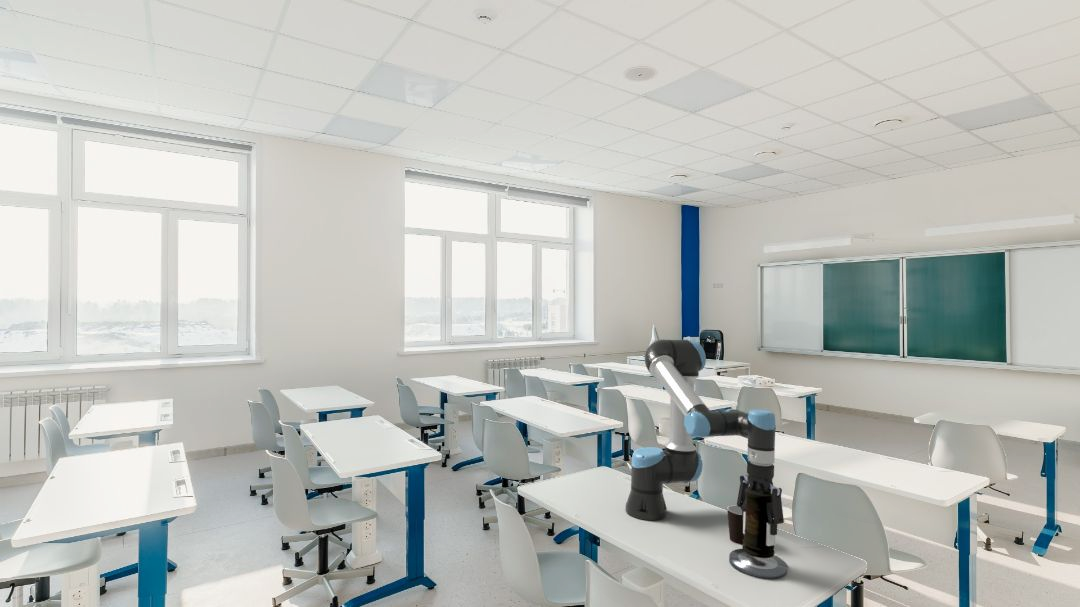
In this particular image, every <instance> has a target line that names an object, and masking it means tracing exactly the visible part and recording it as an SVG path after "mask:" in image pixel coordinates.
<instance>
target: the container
mask: <svg viewBox="0 0 1080 607" xmlns="http://www.w3.org/2000/svg"><path fill="white" fill-rule="evenodd" d="M748 488H749V487H748ZM748 488H746V489H745V494H746V521H745V531H744V532H745V538H744V539H743V542H744V543H743V545H742V549H743V550H744V551H745V552H746V553H747V554H749V555H752V556H755V557H759V558H771V557H773V556H774V555H775V552H776V551H775V545H772V546H767V545H766V534H767V522H769V519H768V516H767V509H766V508H767V505H766V504H767V503H771V502H772V494H770V493H768V494H765V495H762V494H760V493H759V492H757V491H755V490H750V489H748ZM771 492H772V491H771Z"/></svg>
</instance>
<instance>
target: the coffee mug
mask: <svg viewBox="0 0 1080 607" xmlns="http://www.w3.org/2000/svg"><path fill="white" fill-rule="evenodd" d="M726 509H727V521H728V523H727V524H728V533H729V540H730V541H731V542H733V543H735V544H738V545H743V543H744V542H743V539H744V538H745V534H744V533H743V521H742V510H741V508H740V507H738V506H737V504H735V505H734V504H733V505H729V506H727V507H726Z"/></svg>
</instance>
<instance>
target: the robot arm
mask: <svg viewBox="0 0 1080 607" xmlns="http://www.w3.org/2000/svg"><path fill="white" fill-rule="evenodd" d="M706 357H707V356H706V352H705V350H704V347H702V345H701V343H699V342H698V341H696V340H691V339H690V340H689V339H659V340H656V341H654V342H652V343H650V345H649V346H648V347H647V349H646V351H645V354H644V364H645V367H646V369H647V371H648V372H649V374H650V375H651V376H652V377H653V378H656V379H657V380H658V381H659V383H660V384H661V385H662V387H663V388H664V390H665V391H666V393H668V395H669V396H670V397H669V398H670V402H669V403H670V404H669V405H670V406H669V432H668V434H669V437H668V442H666V443H665V444H664V449H662V448H661V447H657V446H646V447H640V448H637V449H635V450H634V451H633V453H632V457H631V463H630V465H631V477H630V478H631V480H630V492H629V494H628V496H627V500H626V503H625V512H626V514H628V515H629V516H631V517H633V518H635V519H638V520H643V521H660V520H663V519H665V518H666V517H667V516H668V513H667V512H668V507H667V505H666V501H665V497H664V494H663V493H664V492H663V491H664V490H663V488H664V485H668V484H670V485H671V484H680V483H681V484H687V483H693V482H696V481H697V480H698V479H699V478H700V476H701V474H702V471H703V460H702V456H701V453H699V452H698V450H697V447H696V446H695V445H694V443H693V437H697V438H707V437H709V438H710V437H729V436H730V437H733V436H737V437H738V436H739V437H742V438H746V439H747V456H746V457H747V460H748V461H747V462H746V475H745V474H744V475H740V476H739V489H738V495H737V500H736V505H737V506H738V507H740V508H741V510H742V521H743V533H744V534H745V532H744V531H745V521H746V494H745V489H746V488H748V487H749V488H748V489H750V490H755V491H757V492H759V493H760V494H762V495H765V494H768V493H770V494H772V502H771V503H767V504H766V505H767V508H766V509H767V516H768V519H769V522H767V534H766V545H767V546H772V545H774V546H775V545H776V535H778V525H781V524H784V522H785V518H784V510H783V503H782V502H783V501H782V492H783V488H781V487H776V486H775V485H774V483H773V479H774V477H775V465H774V464H775V458H776V457H775V454H776V452H775V451H776V449H775V447H776V446H775V445H776V444H775V443H776V428H777V426H776V415H775V413H774V412H772V411H770V410H765V409H757V408H756V409H755V408H754V409H750V410H749V411H748V412H746V411H742V410H739V409H734V408H733V409H732V408H728V409H726V410H724V411H711V410H710V409H709V407H708V406H707V405H706V404H705V402H704V401H703V400H702V399H701V398H700V396H699V395H698V394H697V392H696V391H695V381H696V379H698V378H699V374H700V372H701V371H702V370H704V368H705V367H706V364H707V363H706V361H707V358H706ZM771 491H772V492H771Z"/></svg>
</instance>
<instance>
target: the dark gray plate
mask: <svg viewBox="0 0 1080 607" xmlns="http://www.w3.org/2000/svg"><path fill="white" fill-rule="evenodd" d="M728 558H729V560H728V561H729V564H730V566H732V568H733V569H735V570H737V571H738V572H740V573H743V574H744V575H747V576H749V577H753V578H757V579H763V580H778V579H782V578H785V577H786V576H787V574H788V564H787V563H786V562H785V560H784V559H783V558H780V557H779V556H778V555H776V554H774V556H773V557H771V558H759V557H755V556H752V555H749V554H747V553H746V552H745V551H744V550H743V548H737V549H734V550H732V551H730V552H729V557H728Z"/></svg>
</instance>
